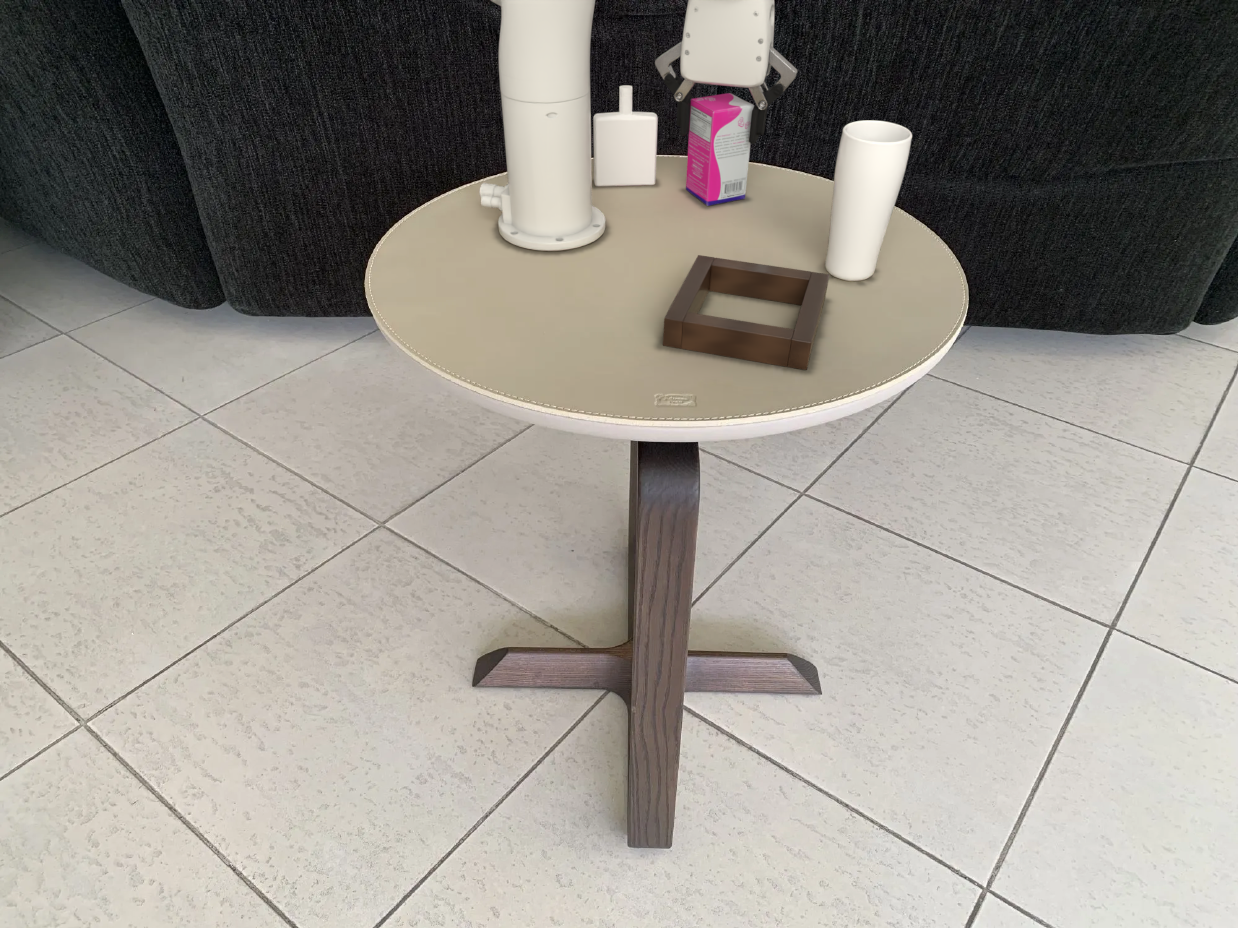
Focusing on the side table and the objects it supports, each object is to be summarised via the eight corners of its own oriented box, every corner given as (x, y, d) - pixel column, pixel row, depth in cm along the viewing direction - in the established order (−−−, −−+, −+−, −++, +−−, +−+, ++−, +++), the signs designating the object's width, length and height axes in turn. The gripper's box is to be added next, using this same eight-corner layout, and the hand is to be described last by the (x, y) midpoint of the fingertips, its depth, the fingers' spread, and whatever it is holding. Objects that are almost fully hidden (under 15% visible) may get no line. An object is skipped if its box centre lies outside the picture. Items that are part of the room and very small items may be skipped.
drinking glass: (835, 252, 94) (861, 115, 85) (891, 270, 91) (925, 129, 81) (806, 273, 90) (829, 132, 81) (863, 293, 87) (894, 148, 77)
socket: (662, 345, 79) (663, 318, 77) (696, 280, 89) (698, 254, 87) (806, 370, 76) (811, 342, 74) (824, 300, 86) (829, 274, 84)
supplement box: (722, 182, 109) (731, 91, 102) (746, 199, 105) (757, 105, 98) (683, 189, 107) (690, 96, 100) (706, 207, 103) (715, 111, 96)
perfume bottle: (654, 179, 110) (657, 83, 102) (656, 185, 109) (659, 88, 101) (593, 181, 110) (592, 85, 102) (594, 187, 108) (593, 89, 100)
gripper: (817, -29, 91) (795, 134, 103) (664, -39, 95) (659, 119, 106) (808, -16, 86) (785, 155, 97) (646, -27, 90) (642, 138, 101)
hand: (719, 135), depth 102 cm, fingers closed on supplement box, 8 cm apart
